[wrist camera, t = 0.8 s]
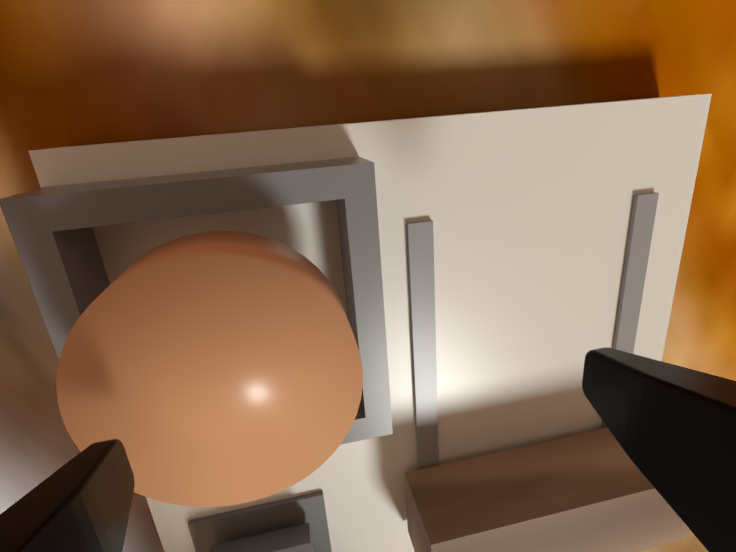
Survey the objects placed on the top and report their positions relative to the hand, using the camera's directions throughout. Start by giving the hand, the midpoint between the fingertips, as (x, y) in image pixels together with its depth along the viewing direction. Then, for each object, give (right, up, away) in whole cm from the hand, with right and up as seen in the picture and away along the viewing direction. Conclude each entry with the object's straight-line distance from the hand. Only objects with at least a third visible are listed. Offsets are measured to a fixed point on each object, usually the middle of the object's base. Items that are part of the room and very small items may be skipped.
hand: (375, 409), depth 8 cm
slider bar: (+6, -6, +9) cm, 12 cm away
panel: (+2, -2, +9) cm, 10 cm away
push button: (-4, +1, +3) cm, 4 cm away
